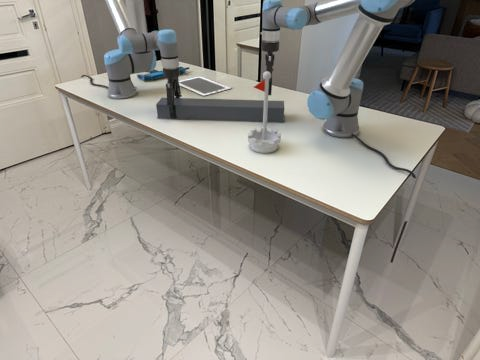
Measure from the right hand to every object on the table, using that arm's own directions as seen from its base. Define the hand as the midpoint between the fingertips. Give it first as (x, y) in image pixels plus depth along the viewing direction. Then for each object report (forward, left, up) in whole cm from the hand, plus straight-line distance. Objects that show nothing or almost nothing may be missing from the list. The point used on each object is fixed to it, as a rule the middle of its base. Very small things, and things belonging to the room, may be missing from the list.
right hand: (268, 90), depth 155 cm
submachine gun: (+94, +27, -14) cm, 99 cm away
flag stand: (-26, +16, -14) cm, 33 cm away
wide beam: (+11, +19, -14) cm, 26 cm away
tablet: (+59, +12, -14) cm, 62 cm away
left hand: (+22, +38, -13) cm, 46 cm away
